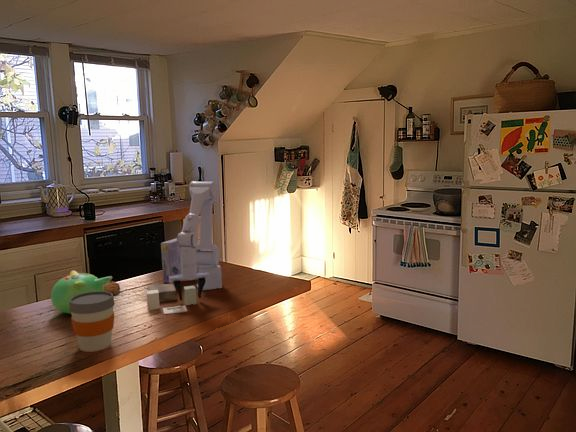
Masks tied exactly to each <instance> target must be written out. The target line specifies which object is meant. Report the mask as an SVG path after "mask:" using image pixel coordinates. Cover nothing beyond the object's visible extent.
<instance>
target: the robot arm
mask: <svg viewBox="0 0 576 432" xmlns="http://www.w3.org/2000/svg"><path fill="white" fill-rule="evenodd" d="M188 190H189V192H188V193H189V196H190V199H191V201H190V207H189V212H188V214H187V215H185V218H184V221H183V225H182V229H181V232H179V233H178V234H177V236H176V238H177V245H178V248H179V252H180V259H181V274H180V275H175V276H169V282H170V283H169V284H171V283H173V284H174V287H175V289H176V292H177V294H178V296H179V300H180V301H181V302H182V301H183V293H182V282H184V281H193V280H195V281H197V284H196V287H197V298H198V299H201V298H202V293H203V291H206V290H207V291H208V290H216V289H217V288H218V289H223V283H222V282H223V279H222V268H221V265H220V264H219V263H220V258H221V257H220V252H219V250H220V249H219V247H218V246H217V245H216V244H215V243H214V242H213V210H214V209H213V205H214V203H215V202H217V197H218V188H217V184H216V182H215V181H213V180H212V181H194V180H192V181H191V182H190V183H189V186H188ZM199 216H200V217H199ZM199 229H200V230H199ZM199 231H200V232H199ZM199 234H200V235H199ZM218 289H217V290H218Z"/></svg>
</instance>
